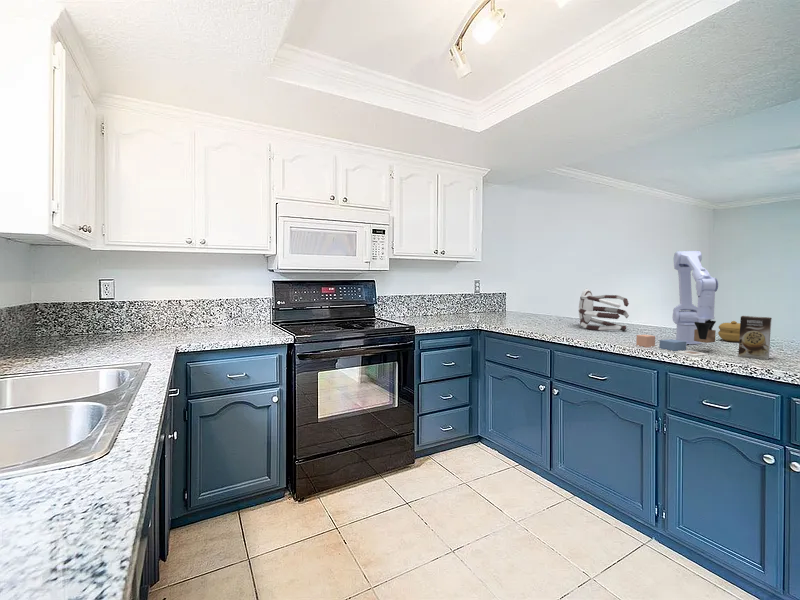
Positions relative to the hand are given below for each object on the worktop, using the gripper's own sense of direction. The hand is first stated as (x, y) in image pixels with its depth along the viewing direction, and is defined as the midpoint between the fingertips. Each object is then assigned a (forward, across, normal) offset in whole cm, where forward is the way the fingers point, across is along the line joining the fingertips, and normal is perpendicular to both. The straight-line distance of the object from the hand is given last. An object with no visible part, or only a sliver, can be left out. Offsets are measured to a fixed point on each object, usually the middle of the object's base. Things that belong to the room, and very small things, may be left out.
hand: (704, 338), depth 172 cm
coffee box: (+6, +1, +16) cm, 17 cm away
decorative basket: (+6, -45, -59) cm, 74 cm away
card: (+6, +10, -2) cm, 12 cm away
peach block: (+6, +3, -21) cm, 22 cm away
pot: (+6, -41, +5) cm, 41 cm away
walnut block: (+1, 0, 0) cm, 1 cm away
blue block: (+6, +4, -11) cm, 13 cm away
